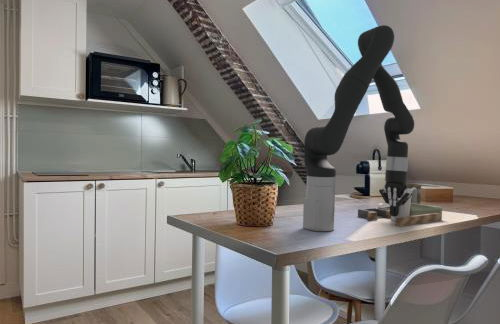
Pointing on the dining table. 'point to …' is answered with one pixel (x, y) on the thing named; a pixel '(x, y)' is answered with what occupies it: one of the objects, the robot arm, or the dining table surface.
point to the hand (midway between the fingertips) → (393, 215)
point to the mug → (415, 192)
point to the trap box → (416, 210)
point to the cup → (404, 208)
